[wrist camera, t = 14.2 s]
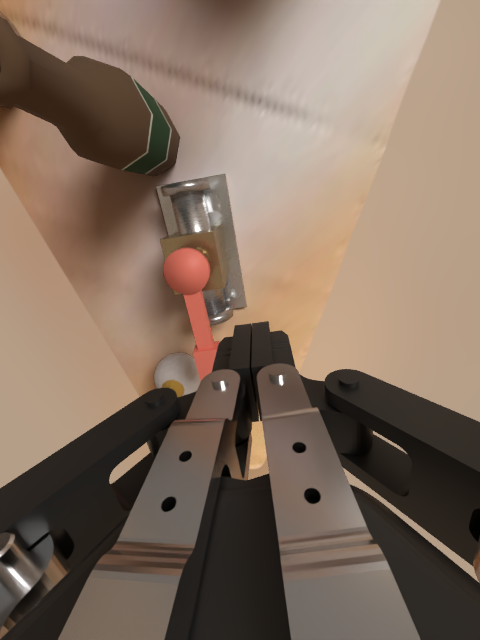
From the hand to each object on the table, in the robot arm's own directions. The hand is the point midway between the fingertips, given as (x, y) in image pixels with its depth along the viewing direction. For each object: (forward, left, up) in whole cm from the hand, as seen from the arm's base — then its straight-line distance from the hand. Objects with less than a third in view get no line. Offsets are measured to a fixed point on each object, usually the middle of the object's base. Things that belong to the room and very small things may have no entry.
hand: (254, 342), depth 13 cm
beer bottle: (-11, +14, -29) cm, 34 cm away
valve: (-7, 0, -29) cm, 30 cm away
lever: (-7, -5, -18) cm, 20 cm away
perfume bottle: (-15, -19, -29) cm, 38 cm away
